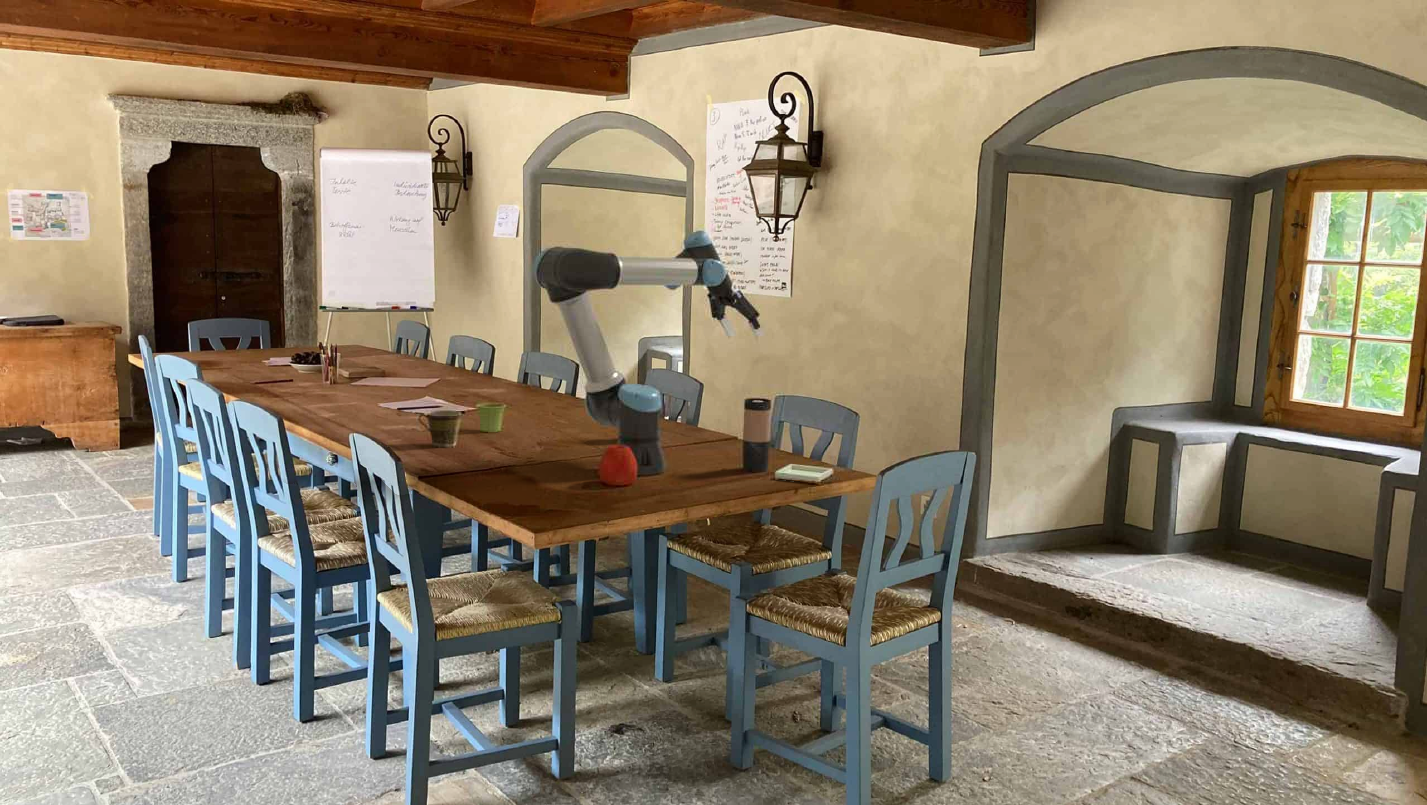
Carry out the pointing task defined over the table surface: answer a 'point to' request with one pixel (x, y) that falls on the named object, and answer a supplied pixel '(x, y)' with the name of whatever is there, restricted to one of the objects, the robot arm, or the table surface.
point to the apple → (618, 466)
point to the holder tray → (803, 473)
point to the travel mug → (756, 434)
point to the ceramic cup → (443, 427)
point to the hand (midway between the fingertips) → (746, 336)
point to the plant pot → (491, 416)
